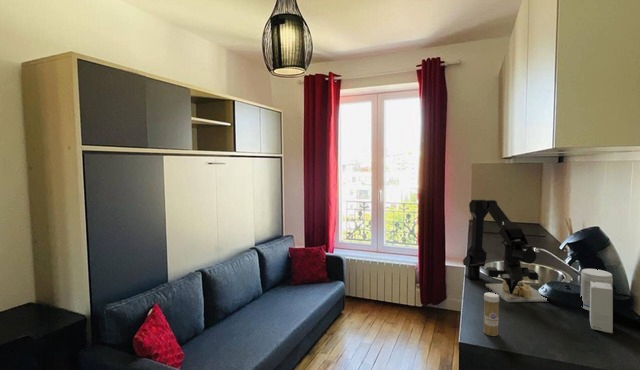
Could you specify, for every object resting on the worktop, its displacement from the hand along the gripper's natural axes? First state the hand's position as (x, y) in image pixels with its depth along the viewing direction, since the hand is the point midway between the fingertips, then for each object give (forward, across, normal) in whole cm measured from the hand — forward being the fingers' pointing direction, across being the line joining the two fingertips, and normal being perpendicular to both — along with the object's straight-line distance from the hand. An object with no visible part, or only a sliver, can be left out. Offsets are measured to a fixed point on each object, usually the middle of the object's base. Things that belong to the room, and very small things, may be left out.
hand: (510, 293), depth 143 cm
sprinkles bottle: (+3, -15, -33) cm, 36 cm away
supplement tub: (+3, +29, -3) cm, 29 cm away
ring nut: (+1, +5, +6) cm, 7 cm away
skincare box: (+3, +23, -20) cm, 30 cm away
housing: (+2, +4, +8) cm, 9 cm away
